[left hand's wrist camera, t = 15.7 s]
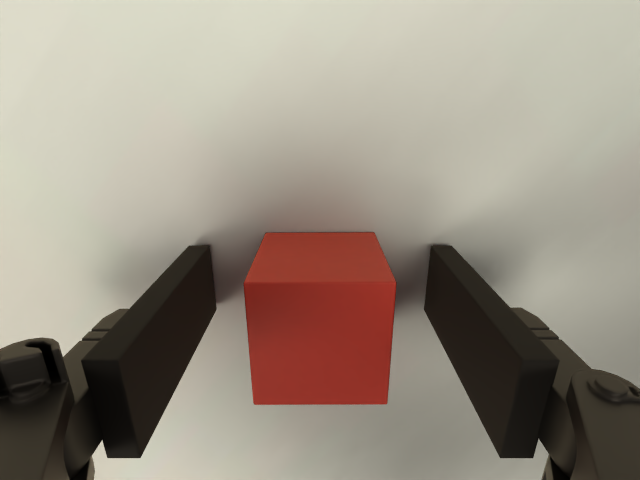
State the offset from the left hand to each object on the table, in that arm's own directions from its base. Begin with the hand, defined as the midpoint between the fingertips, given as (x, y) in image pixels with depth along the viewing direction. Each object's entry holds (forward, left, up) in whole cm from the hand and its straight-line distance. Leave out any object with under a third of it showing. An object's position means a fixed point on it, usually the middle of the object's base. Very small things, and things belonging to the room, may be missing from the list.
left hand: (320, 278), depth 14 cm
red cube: (0, 0, 0) cm, 0 cm away
